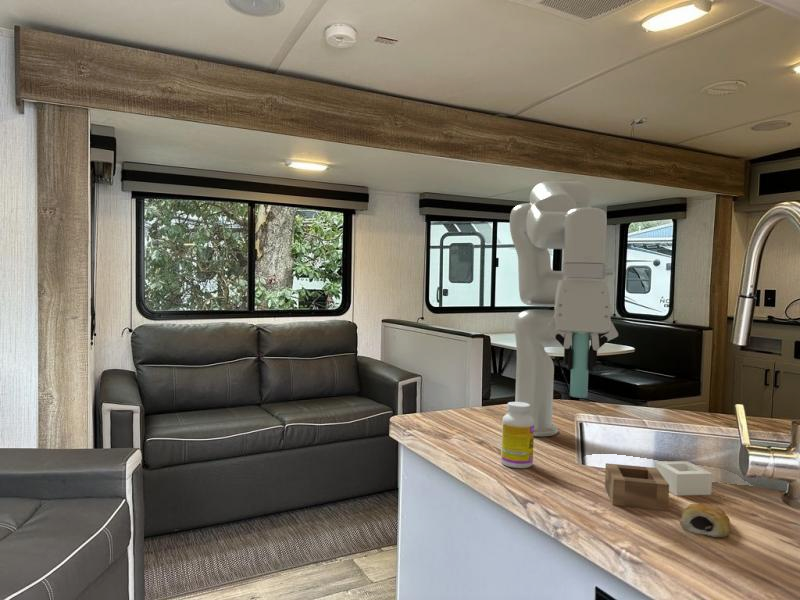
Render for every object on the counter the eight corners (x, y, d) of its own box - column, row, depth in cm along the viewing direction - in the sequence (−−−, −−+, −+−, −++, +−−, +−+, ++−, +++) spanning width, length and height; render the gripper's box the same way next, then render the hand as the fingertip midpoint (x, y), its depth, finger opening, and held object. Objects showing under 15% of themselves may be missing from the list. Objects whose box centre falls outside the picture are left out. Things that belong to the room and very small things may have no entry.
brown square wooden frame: (604, 486, 106) (605, 463, 105) (655, 491, 104) (656, 467, 104) (612, 504, 97) (613, 479, 97) (668, 510, 95) (669, 484, 95)
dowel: (568, 393, 108) (571, 322, 108) (586, 394, 107) (589, 322, 107) (570, 397, 105) (573, 323, 104) (588, 398, 104) (591, 324, 104)
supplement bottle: (533, 470, 113) (535, 408, 113) (500, 467, 115) (502, 406, 114) (532, 460, 120) (534, 401, 120) (501, 457, 121) (503, 399, 121)
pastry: (689, 512, 95) (690, 490, 95) (735, 523, 91) (736, 501, 91) (677, 530, 88) (679, 506, 88) (726, 544, 84) (728, 519, 83)
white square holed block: (654, 481, 109) (654, 461, 109) (686, 481, 110) (687, 461, 110) (676, 495, 102) (677, 474, 102) (711, 494, 103) (712, 473, 103)
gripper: (625, 275, 107) (622, 369, 108) (538, 273, 111) (535, 364, 111) (633, 274, 100) (628, 375, 100) (539, 272, 104) (535, 369, 104)
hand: (579, 368), depth 106 cm, fingers closed on dowel, 3 cm apart
